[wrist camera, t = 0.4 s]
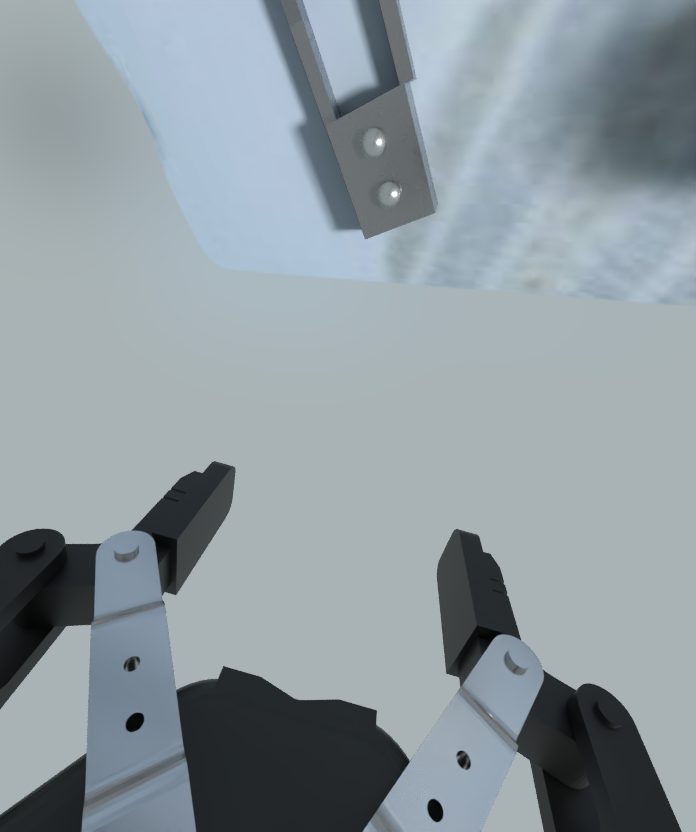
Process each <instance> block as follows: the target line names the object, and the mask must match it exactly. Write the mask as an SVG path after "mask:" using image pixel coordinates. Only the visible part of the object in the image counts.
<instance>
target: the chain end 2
mask: <svg viewBox="0 0 696 832" xmlns="http://www.w3.org/2000/svg"><path fill="white" fill-rule="evenodd" d="M379 3H380V7H381V11H382V15H383V19H384V23H385V27H386V31H387V35H388V40H389V44H390V48H391V52H392V56H393V60H394V64H395V68H396V72H397V76H398V80H399V84H400V85H399V86H397V87H395V88H393V89H391V90H390V91H388V92H386V93H384V94H382V95H381V96H379V97H377V98H375V99H373V100H372V101H370V102H368V103H366V104H364V105H362V106H361V107H359V108H357V109H355V110H353V111H352V112H350V113H348V114H346V115H344V116H343V117H341V116H340V113H339V110H338V107H337V104H336V101H335V98H334V95H333V92H332V89H331V86H330V83H329V80H328V77H327V74H326V71H325V68H324V65H323V62H322V59H321V56H320V53H319V49H318V46H317V43H316V40H315V37H314V34H313V31H312V28H311V25H310V22H309V21H306V20H304V19H302V20H300V21H299V22H297V23H296V24H295V25H293V26H292V27H290V30H291V32H292V35H293V38H294V41H295V44H296V47H297V49H298V52H299V55H300V58H301V61H302V64H303V66H304V69H305V72H306V75H307V78H308V81H309V83H310V86H311V89H312V92H313V95H314V97H315V100H316V103H317V106H318V109H319V112H320V114H321V117H322V120H323V123H324V126H325V127H326V130H327V132H328V135H329V138H330V141H331V144H332V147H333V149H334V152H335V155H336V158H337V161H338V164H339V166H340V169H341V172H342V175H343V178H344V181H345V184H346V186H347V189H348V192H349V195H350V198H351V201H352V203H353V206H354V209H355V212H356V215H357V218H358V220H359V223H360V226H361V229H362V232H363V235H364V237H365V239H368V238H370V237H373V236H375V235H378V234H381V233H383V232H386V231H389V230H391V229H394V228H396V227H399V226H402V225H404V224H407V223H410V222H412V221H415V220H417V219H420V218H423V217H425V216H428V215H430V214H433V213H435V212H436V208H437V204H438V203H437V199H436V195H435V190H434V186H433V182H432V177H431V173H430V169H429V164H428V160H427V156H426V152H425V147H424V143H423V139H422V134H421V130H420V126H419V121H418V117H417V113H416V109H415V104H414V100H413V96H412V91H411V87H410V83H409V82H411V81H413V80H415V79H416V76H415V71H414V67H413V62H412V58H411V53H410V49H409V44H408V40H407V35H406V31H405V26H404V22H403V17H402V13H401V8H400V4H399V0H379Z"/></svg>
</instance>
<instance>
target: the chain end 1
mask: <svg viewBox="0 0 696 832" xmlns="http://www.w3.org/2000/svg"><path fill="white" fill-rule="evenodd" d="M280 1H281V4H282V7H283V10H284V13H285V15H286V18H287V21H288V24H289V27H292V26H293V25H295V24H296V23H297V22H299V21H300V20H302V19H304V20H306V21H309V19H308V16H307V13H306V10H305V7H304V4H303V1H302V0H280Z"/></svg>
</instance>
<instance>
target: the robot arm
mask: <svg viewBox="0 0 696 832" xmlns="http://www.w3.org/2000/svg"><path fill="white" fill-rule="evenodd" d="M234 479H235V467H233V466H230V465H226V464H223V463H219V462H215V461H214V462H212V463H211V464H210V465H209V466H208V468H207V469H206V470H205V471H204V472H203V473H200V472H196V471H194V472H192V473H190V474H188V475H186V476H184V477H182V478H180V479H179V481H178V482H177V483H176V484H175V485H174V486H173V487H172V488H171V490H169V491H168V492H167V493H166V495H165V496H164V497H163V499H161V500H160V501H159V502H158V503H157V504H156V505H155V506H154V507H153V508H152V509H151V511H149V513H148V514H147V515H146V516H145V517H144V518H143V519H142V520H141V521H140V522H139V523H138V524H137V525H136V526H135V528H134V529H133V530H131V531H125V532H121V533H118V534H115V535H114V536H111V537H110V538H108V539H107V540H105V541H104V542H103V543H101V544H65V539H64V537H63V535H62V534H61V533H59V532H58V531H55V530H52V529H35V530H30V531H26V532H23V533H20V534H18V535H16V536H14V537H12V538H10V539H9V540H7V541H6V542H5V543H3V544H2V545H1V546H0V709H1V707H2V706H3V705H4V704H5V702H6V701H7V700H8V699H9V697H10V696H11V695H12V693H13V692H14V691H15V690H16V689H17V687H18V686H19V685H20V684H21V682H22V681H23V680H24V679H25V677H26V676H27V675H28V674H29V672H30V671H31V670H32V668H33V667H34V666H35V665H36V664H37V662H38V661H39V660H40V659H41V657H42V656H43V655H44V654H45V652H46V651H47V650H48V649H49V647H50V646H51V645H52V643H53V642H54V641H55V640H56V639H57V637H58V636H59V635H60V633H61V632H62V631H63V630H64V628H65V627H66V626H74V625H91V640H90V670H89V699H88V728H87V753H86V754H84V755H83V756H82V757H80V758H79V759H78V760H76V761H75V762H73V763H72V764H71V765H69V766H68V767H66V768H65V769H64V770H62V771H61V772H59V773H58V774H57V775H55V776H54V777H52V778H51V779H50V780H48V781H47V782H45V783H44V784H43V785H41V786H40V787H38V788H37V789H36V790H35V791H33V792H32V793H30V794H29V795H27V796H26V797H24V798H23V799H22V800H20V801H19V802H18V803H16V804H15V805H13V806H12V807H11V808H9V809H8V810H6V811H5V812H4V813H2V814H1V815H0V832H481V830H482V828H483V826H484V824H485V822H486V819H487V817H488V815H489V813H490V810H491V808H492V806H493V804H494V802H495V799H496V797H497V795H498V793H499V790H500V788H501V786H502V784H503V781H504V779H505V777H506V775H507V773H508V770H509V768H510V766H511V764H512V761H513V759H514V757H515V754H516V752H519V753H520V754H522V755H523V756H524V757H526V758H527V759H529V760H530V763H531V768H532V773H533V778H534V783H535V788H536V794H537V799H538V804H539V809H540V814H541V819H542V824H543V829H544V832H681V829H680V827H679V824H678V822H677V820H676V817H675V815H674V813H673V810H672V808H671V806H670V804H669V801H668V799H667V797H666V795H665V792H664V790H663V787H662V785H661V783H660V780H659V778H658V776H657V774H656V771H655V769H654V767H653V764H652V762H651V760H650V757H649V755H648V753H647V750H646V748H645V746H644V744H643V741H642V739H641V737H640V734H639V732H638V730H637V727H636V725H635V723H634V721H633V719H632V717H631V716H630V714H629V713H628V711H627V710H626V709H625V707H624V706H623V705H622V704H621V703H620V702H619V701H618V700H617V699H616V698H615V697H614V696H613V695H612V694H611V693H609V692H608V691H606V690H605V689H603V688H601V687H599V686H597V685H594V684H583V685H581V686H580V687H579V688H578V689H577V690H574V689H573V688H571V687H569V686H568V685H566V684H564V683H563V682H561V681H559V680H558V679H556V678H554V677H553V676H551V675H550V674H548V673H546V672H545V671H544V670H543V669H542V665H541V663H540V661H539V659H538V658H537V656H536V655H535V653H534V652H533V651H532V650H531V649H530V648H529V647H528V646H527V645H526V644H525V643H524V642H522V641H521V638H520V635H519V631H518V628H517V625H516V621H515V618H514V615H513V611H512V608H511V604H510V601H509V597H508V596H507V591H506V587H505V585H504V581H503V577H502V573H501V570H500V567H499V566H498V564H497V563H496V562H495V560H494V559H493V557H492V556H491V554H489V553H485V552H483V550H482V546H481V542H480V538H479V536H478V535H476V534H473V533H469V532H465V531H462V530H458V529H456V530H454V532H453V533H452V535H451V537H450V540H449V541H448V543H447V545H446V547H445V550H444V552H443V554H442V556H441V558H440V560H439V563H438V569H437V582H438V592H439V603H440V613H441V622H442V633H443V643H444V654H445V663H446V673H447V674H450V675H453V676H457V677H459V679H460V689H459V690H458V692H457V693H456V695H455V696H454V698H453V699H452V701H451V702H450V704H449V705H448V707H447V708H446V709H445V711H444V712H443V714H442V715H441V717H440V718H439V720H438V721H437V723H436V724H435V726H434V727H433V729H432V730H431V731H430V733H429V734H428V736H427V737H426V739H425V740H424V742H423V743H422V745H421V746H420V747H419V749H418V751H417V752H416V754H415V755H414V756H413V758H412V759H411V761H409V759H408V758H407V756H406V754H405V753H404V752H403V750H402V749H401V748H400V746H399V745H398V744H397V743H396V742H395V741H394V740H393V739H392V738H391V736H389V735H388V734H387V733H386V732H385V731H384V730H382V729H381V728H380V727H378V726H377V725H376V714H377V711H376V710H373V709H370V708H366V707H362V706H359V705H356V704H352V703H349V702H346V701H342V700H296V699H294V698H292V697H291V696H289V695H288V694H286V693H285V692H283V691H282V690H280V689H279V688H277V687H275V686H274V685H272V684H271V683H269V682H268V681H266V680H264V679H263V678H262V677H259V676H256V675H252V674H248V673H245V672H242V671H238V670H234V669H231V668H228V667H224V666H223V669H222V671H221V673H220V676H219V678H218V679H209V680H202V681H198V682H195V683H191V684H189V685H186V686H184V687H181V688H179V689H177V690H176V686H175V678H174V670H173V663H172V655H171V647H170V640H169V632H168V625H167V617H166V609H165V603H164V601H163V600H162V595H163V594H164V592H167V593H171V594H174V595H176V594H177V593H178V591H179V590H180V588H181V587H182V585H183V583H184V582H185V580H186V579H187V577H188V576H189V574H190V572H191V571H192V569H193V568H194V566H195V565H196V563H197V562H198V560H199V558H200V557H201V555H202V554H203V552H204V551H205V549H206V548H207V546H208V544H209V543H210V541H211V540H212V538H213V537H214V535H215V534H216V532H217V530H218V529H219V527H220V526H221V524H222V523H223V521H224V519H225V518H226V516H227V514H228V512H229V510H230V507H231V503H232V497H233V489H234Z"/></svg>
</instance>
